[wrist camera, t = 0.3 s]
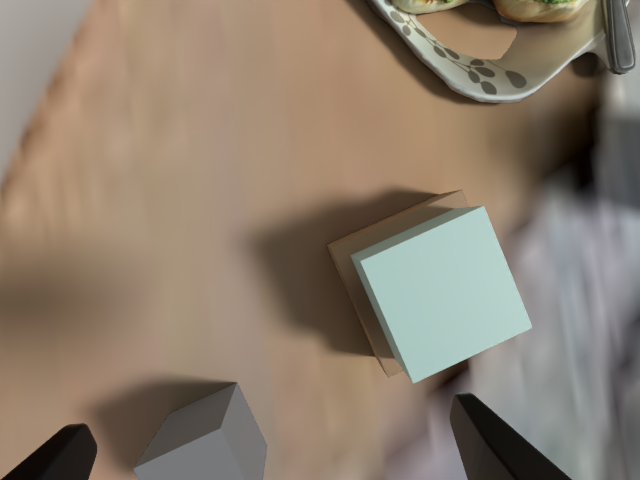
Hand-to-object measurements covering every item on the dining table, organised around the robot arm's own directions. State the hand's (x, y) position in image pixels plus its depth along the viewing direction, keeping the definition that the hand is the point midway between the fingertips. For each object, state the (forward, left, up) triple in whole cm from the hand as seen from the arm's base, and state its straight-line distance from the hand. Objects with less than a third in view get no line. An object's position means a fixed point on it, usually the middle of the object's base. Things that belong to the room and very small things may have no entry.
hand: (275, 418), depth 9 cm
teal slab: (-2, -8, -10) cm, 13 cm away
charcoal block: (-6, +7, -13) cm, 16 cm away
